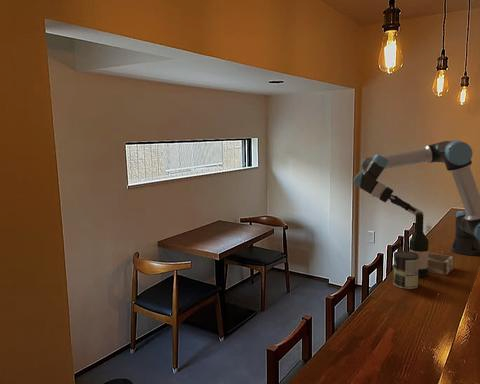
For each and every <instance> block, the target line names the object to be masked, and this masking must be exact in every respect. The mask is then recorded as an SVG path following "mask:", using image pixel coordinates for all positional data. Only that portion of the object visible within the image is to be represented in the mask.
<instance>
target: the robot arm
mask: <svg viewBox="0 0 480 384" xmlns="http://www.w3.org/2000/svg"><path fill="white" fill-rule="evenodd" d="M472 158H473V149H472V147H471V145H469V144H468V143H466V142H465V141H461V140H444V141H443V140H442V141H440V142H437V143H433V144H428V145H425V146H424V147H423V148H416V149H412V150H404V151H401V152H400V151H399V152H396V153H395V152H394V153H389V154H384V155H383V154H382V155H381V154H378V153H377V154H374V156H373V157H365V158H363V159H362V160H361V163H360V166H361V169H362V170H364V171H359V172H358V173H357V175H355V177H354V179H353V185H355V187H358V188H360V189H361V190H363V191H364V192H366V193H368V194H370V195H371V196H372V198H374V197H375V198H377V199H379V201H382V202H383V203H387V202H388V200H389V201H390V203H392V204H393V205H396V206H398V207H400V208H402V209H404V211H406V212H409V213H410V214H411V215H414V216H415V217H416V214H417V212H421V213H423V214H424V212H423V211H422V210H420V209H418V208H417V207H415V206H413V205H411V204H410V203H409V202H406V201H405V200H403V199H401V198H400V197H398V196H397V195H394V194H393V193H394V189H391V188H390V187H389V186H387V187H386V185H385V184H384V183H382V182H380V181H378V179H379V177H380V176H381V174H382V173H383V172H384V170H386V169H393V168H397V167H403V166H409V165H416V164H420V163H428V164H430V163H431V164H432V163H444V165H445V169H446V171H448V172H450V173H451V174H452V177H453V181H454V183H455V186H456V189H457V191H458V194H459V197H460V199H461V202H462V205H463V207H464V208H463V209H464V210H459V211H456V214H455V225H454V226H455V230H454V231H455V233H454V239H453V241H452V244H451V246H450V249H451V250H450V251H451V252H453V253H456V254H459V255H464V256H465V255H466V256H478V255H480V192H479V189H478V187H477V183H476V180H475V177H474V175H473V171H472V169H471V166H472V164H473V161H472Z"/></svg>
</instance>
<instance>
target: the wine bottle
mask: <svg viewBox="0 0 480 384" xmlns="http://www.w3.org/2000/svg"><path fill="white" fill-rule="evenodd" d="M414 225H415V226H414V227H415V229H414V231H415V232H414V233H413V235H412V236H411V238H410V239H409V248H408V249H409V251H410V252H414V253H417V254H418V255H419V261H418V279H423V278H427V277H428V275H429V272H428V252H429V239H428V237H427V236H426V235H425V232H424V213H421V212H417V214H416V216H415V224H414Z"/></svg>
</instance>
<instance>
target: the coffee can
mask: <svg viewBox="0 0 480 384" xmlns="http://www.w3.org/2000/svg"><path fill="white" fill-rule="evenodd" d="M418 261H419V255H418V254H417V253H414V252H410V251H408V250H398V251H395V252H393V283H392V284H393V286H395V287H397V288H400V289H406V290H412V289H417V288H418V287H419V278H418Z"/></svg>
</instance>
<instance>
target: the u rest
mask: <svg viewBox="0 0 480 384" xmlns="http://www.w3.org/2000/svg"><path fill="white" fill-rule="evenodd" d="M454 259H455V256H454V255H453V256H452V255H447V254H440V253H434V252H429V251H428V273H433V274H438V275H442V276H447V275H448V274H449V273H450V272H451V271H452V270H454V267H455V265H454V263H455V260H454Z"/></svg>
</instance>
